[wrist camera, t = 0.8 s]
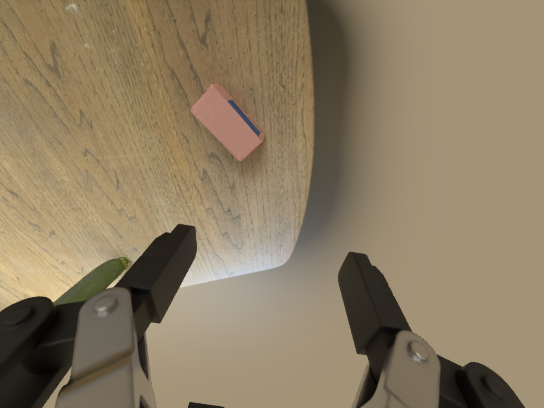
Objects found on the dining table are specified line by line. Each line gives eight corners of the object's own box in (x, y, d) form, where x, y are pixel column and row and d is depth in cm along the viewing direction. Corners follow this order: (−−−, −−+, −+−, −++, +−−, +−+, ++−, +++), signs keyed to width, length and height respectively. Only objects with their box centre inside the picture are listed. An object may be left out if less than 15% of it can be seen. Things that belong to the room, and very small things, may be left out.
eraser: (221, 83, 21) (211, 83, 18) (265, 135, 23) (262, 141, 20) (200, 108, 22) (189, 111, 19) (244, 154, 24) (239, 163, 22)
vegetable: (110, 260, 37) (-43, 411, 20) (107, 244, 35) (-68, 398, 18) (134, 266, 37) (5, 418, 20) (133, 251, 35) (-13, 407, 18)
